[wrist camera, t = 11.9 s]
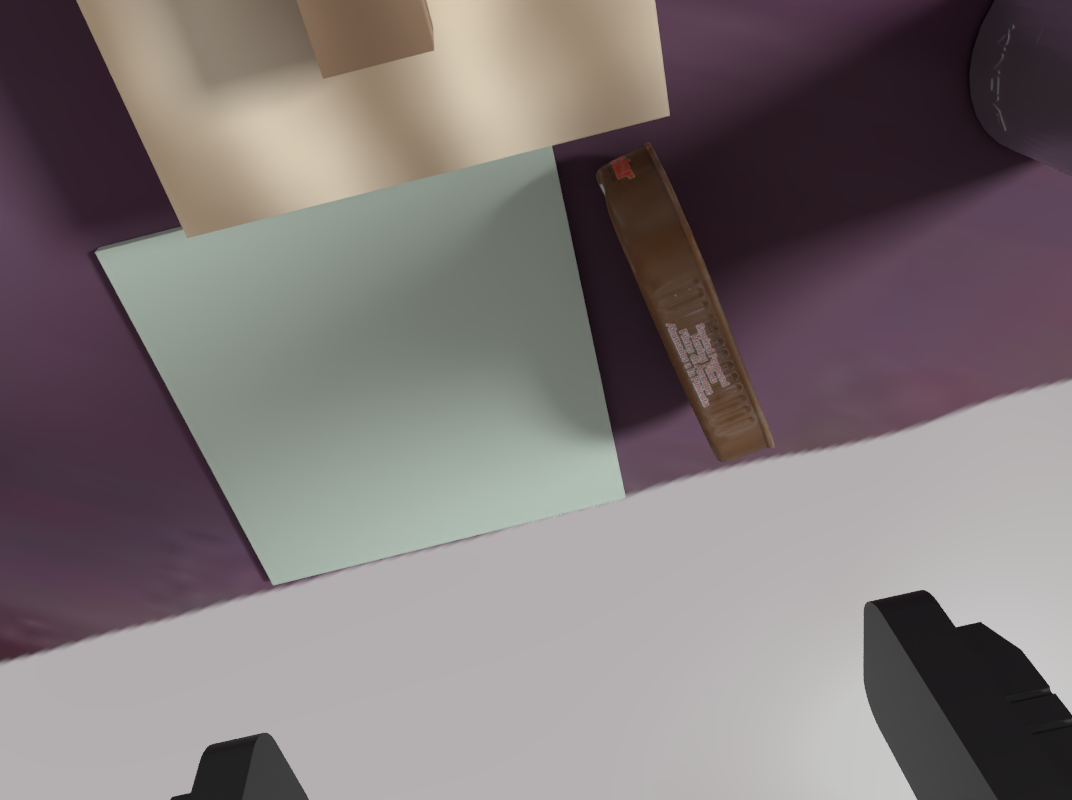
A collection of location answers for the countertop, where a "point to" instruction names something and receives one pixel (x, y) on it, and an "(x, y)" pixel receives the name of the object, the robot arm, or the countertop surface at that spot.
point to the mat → (383, 364)
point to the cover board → (364, 90)
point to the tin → (683, 303)
